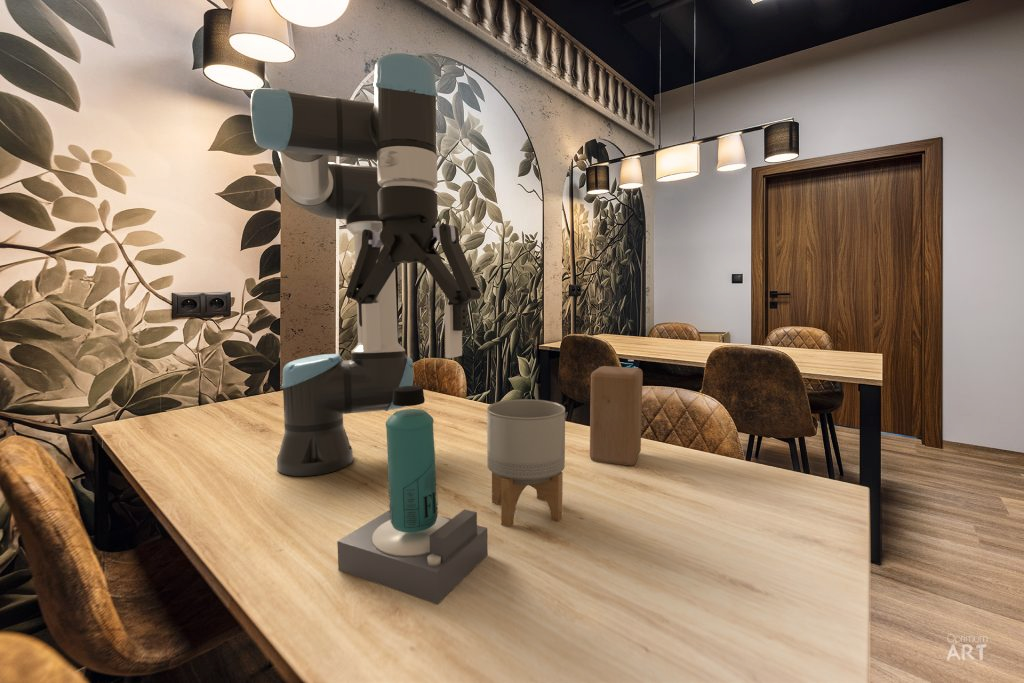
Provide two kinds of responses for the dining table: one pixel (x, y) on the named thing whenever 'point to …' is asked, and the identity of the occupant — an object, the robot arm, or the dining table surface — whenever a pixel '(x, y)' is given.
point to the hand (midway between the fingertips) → (411, 353)
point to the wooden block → (616, 414)
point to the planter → (526, 453)
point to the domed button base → (415, 554)
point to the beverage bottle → (411, 463)
